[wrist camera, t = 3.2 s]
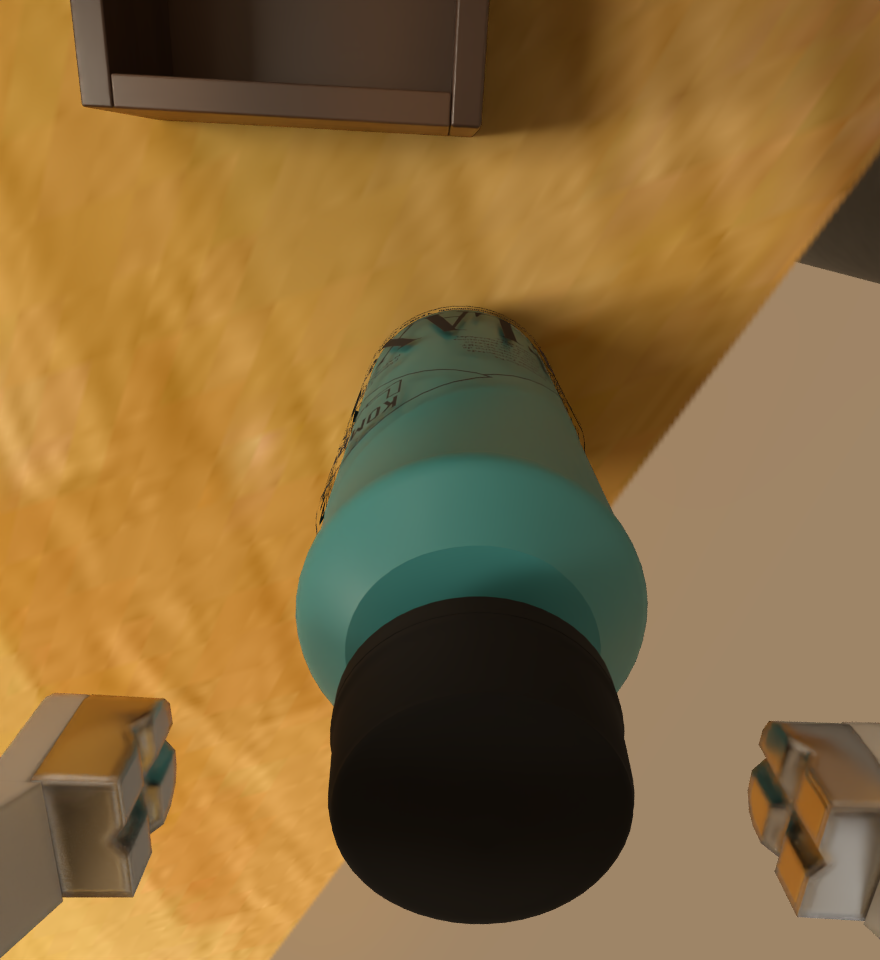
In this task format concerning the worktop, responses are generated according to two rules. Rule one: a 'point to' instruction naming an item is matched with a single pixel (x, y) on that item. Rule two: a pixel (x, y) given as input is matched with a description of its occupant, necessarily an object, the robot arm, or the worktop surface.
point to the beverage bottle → (472, 632)
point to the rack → (288, 62)
